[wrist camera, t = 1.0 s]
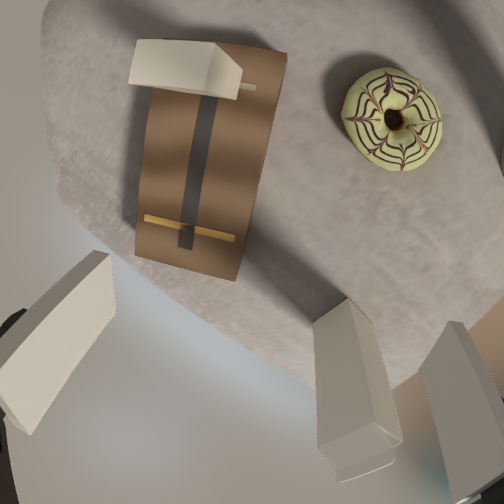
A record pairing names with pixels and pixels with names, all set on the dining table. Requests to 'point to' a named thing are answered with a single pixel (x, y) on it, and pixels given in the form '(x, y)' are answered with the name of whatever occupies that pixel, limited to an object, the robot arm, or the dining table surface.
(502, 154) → the thermos bottle
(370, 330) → the milk
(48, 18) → the dining table surface
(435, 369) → the robot arm
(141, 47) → the fader tab
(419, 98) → the decorated donut
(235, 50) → the brown flat block
